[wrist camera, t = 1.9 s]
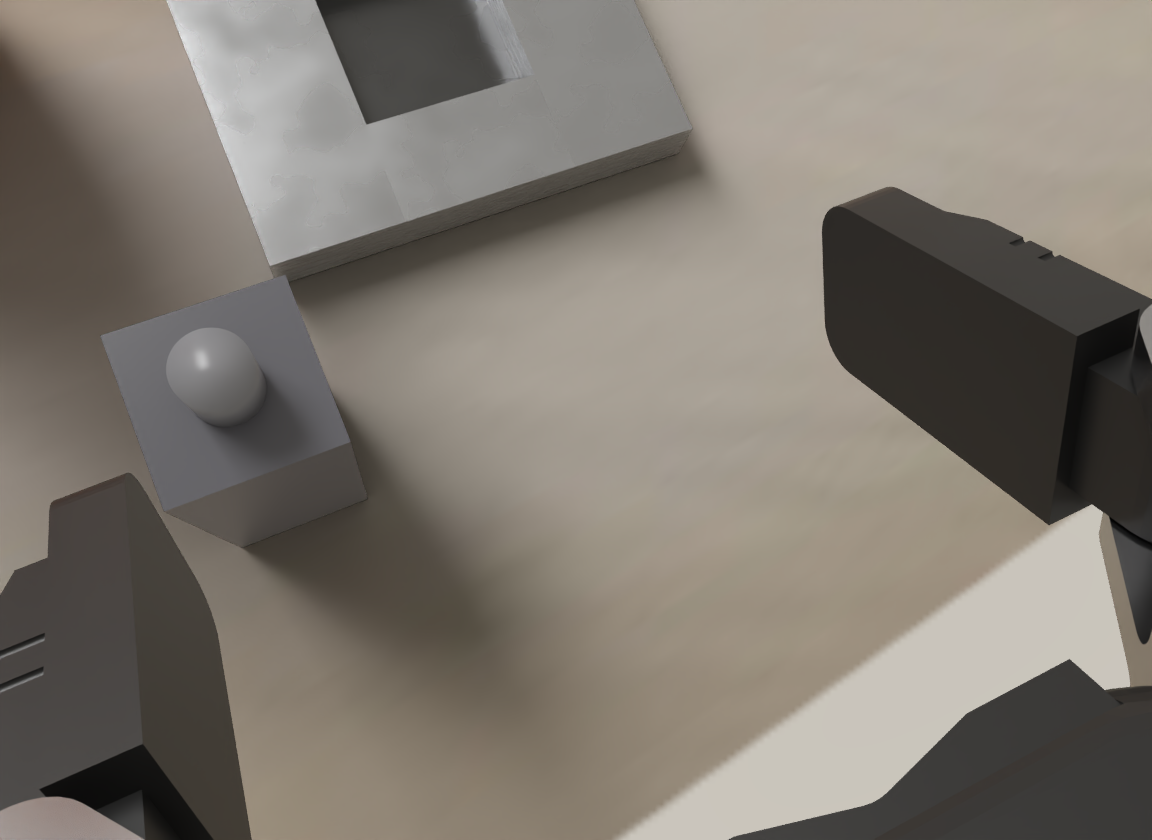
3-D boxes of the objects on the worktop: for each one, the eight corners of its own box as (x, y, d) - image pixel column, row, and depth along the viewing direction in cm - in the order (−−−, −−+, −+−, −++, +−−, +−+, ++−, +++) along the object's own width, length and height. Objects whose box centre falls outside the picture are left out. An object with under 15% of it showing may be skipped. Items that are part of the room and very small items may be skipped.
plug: (367, 498, 34) (345, 425, 21) (241, 547, 33) (141, 500, 20) (322, 382, 35) (274, 244, 22) (196, 426, 34) (71, 309, 21)
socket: (277, 285, 35) (267, 259, 32) (145, -54, 37) (126, -104, 34) (678, 153, 39) (697, 120, 36) (540, -150, 40) (549, -202, 38)
